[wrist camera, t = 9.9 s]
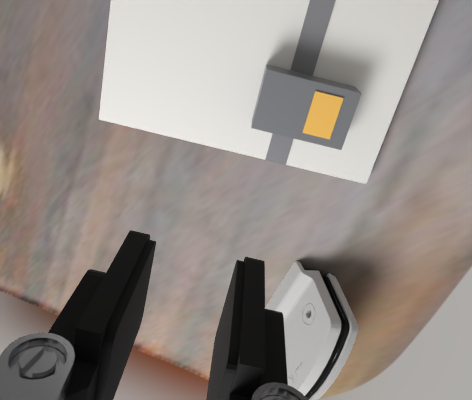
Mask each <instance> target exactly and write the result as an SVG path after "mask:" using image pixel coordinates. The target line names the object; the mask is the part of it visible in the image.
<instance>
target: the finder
mask: <svg viewBox="0 0 472 400" xmlns="http://www.w3.org/2000/svg"><path fill="white" fill-rule="evenodd" d="M361 94H362V93H361V92H360V91H359V90H358V89H357V88H356V87H354V86H350V85H346V84H342V83H338V82H334V81H330V80H327V79H323V78H319V77H315V76H311V75H307V74H303V73H299V72H295V71H291V70H287V69H283V68H279V67H275V66H271V65H267V64H266V67H265V71H264V74H263V78H262V82H261V86H260V90H259V94H258V98H257V102H256V106H255V110H254V114H253V117H252V125H251V128H253V129H257V130H261V131H265V132H269V133H273V134H277V135H281V136H286V137H290V138H294V139H298V140H302V141H306V142H310V143H314V144H318V145H322V146H326V147H330V148H334V149H339V150H342V147H343V144H344V142H345V139H346V136H347V133H348V130H349V128H350V125H351V122H352V119H353V116H354V114H355V111H356V108H357V105H358V102H359V100H360V97H361Z"/></svg>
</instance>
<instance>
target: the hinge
mask: <svg viewBox="0 0 472 400" xmlns="http://www.w3.org/2000/svg"><path fill="white" fill-rule="evenodd" d="M265 309H269V310H274V311H278V312H282V313H283V318H284V332H285V348H286V364H287V379H288V385H289V386H292V387H294V388H295V389H297V390H298V391H300V392H301V393H302V394H303V395H304V396H305V397H306V398H307V399H308V400H318V399H319V398H320V397H321V396H322V395H323V394H324V393H325V392H326V391H327V390H328V388H329V387H330V386H331V385H332V383H333V382H334V381H335V379H336V378H337V376H338V374H339V373H340V371H341V370H342V368H343V366H344V364H345V362H346V360H347V358H348V356H349V354H350V352H351V350H352V347H353V345H354V342H355V340H356V337H357V334H358V323H357V321H356V319H355V317H354V315H353V313H352V311H351V308H350V306H349V304H348V302H347V300H346V298H345V296H344V294H343V291H342V289H341V287H340V285H339V283H338V281H337V279H336V277H335V276H333V275H332V274H330V273H328V274H327V275H326V276H325V277H324V278H323V277H322V275H321V274H320V272H319V271H313V270H304V269H303V267H302V265H301V263H300V262H298V261H295V262H294V263H293V265H292V267H291V268H290V270H289V271H288V273H287V274H286V276H285V277H284V279H283V281H282V282H281V284H280V285H279V287H278V288H277V290H276V291H275V293H274V295H273V296H272V298H271V299H270V301H269V302H268V304H267V305H266V307H265Z"/></svg>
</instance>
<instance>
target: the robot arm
mask: <svg viewBox="0 0 472 400" xmlns="http://www.w3.org/2000/svg"><path fill="white" fill-rule="evenodd" d="M155 246H156V241H152V240H150V235H149V234H144V233H140V232H135V231H130V232H129V233H128V235H127V237H126V239H125V240H124V242H123V244H122V246H121V247H120V249H119V251H118V253H117V255H116V256H115V258H114V260H113V262H112V264H111V265H110V267H109V269H108V271H107V273H105V272H100V271H96V270H91V269H90V270H88V271H87V272H86V274H85V275H84V277H83V278H82V280H81V281H80V283H79V285H78V286H77V288H76V289H75V291H74V293H73V294H72V296H71V297H70V299H69V300H68V302H67V304H66V305H65V307H64V308H63V310H62V312H61V313H60V315H59V316H58V318H57V319H56V321H55V323H54V324H53V326H52V327H51V329H50V331H49V332H48V333H42V332H41V333H34V334H29V335H26V336H23V337H21V338H18V339H17V340H15V341H14V342H12V343H11V344H9V346H8V347H7V348H6V349H5V350H4V351H3V352H2V354H1V355H0V400H113V398H114V396H115V393H116V390H117V387H118V385H119V382H120V379H121V377H122V374H123V371H124V368H125V366H126V363H127V360H128V358H129V355H130V352H131V349H132V347H133V344H134V341H135V339H136V336H137V333H138V330H139V328H140V325H141V321H142V317H143V312H144V307H145V301H146V296H147V290H148V285H149V279H150V274H151V268H152V263H153V257H154V252H155ZM207 400H308V399H307V398H306V397H305V396H304V395H303V394H302V393H301V392H300V391H298V390H297V389H295V388H294V387H292V386H289V385H288V379H287V364H286V348H285V332H284V318H283V313H282V312H278V311H274V310H269V309H265V266H264V261H261V260H257V259H253V258H248V257H245V259H244V262H243V261H239V260H237V262H236V265H235V268H234V272H233V275H232V279H231V282H230V286H229V290H228V293H227V297H226V300H225V304H224V307H223V311H222V315H221V318H220V322H219V325H218V329H217V333H216V337H215V342H214V349H213V356H212V363H211V370H210V378H209V385H208V392H207Z"/></svg>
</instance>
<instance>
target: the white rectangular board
mask: <svg viewBox="0 0 472 400" xmlns="http://www.w3.org/2000/svg"><path fill="white" fill-rule="evenodd" d="M438 1H439V0H111V5H110V15H109V24H108V34H107V44H106V54H105V64H104V74H103V84H102V93H101V103H100V113H99V120H103V121H107V122H112V123H116V124H120V125H124V126H128V127H132V128H136V129H141V130H145V131H149V132H153V133H157V134H161V135H165V136H169V137H174V138H178V139H182V140H186V141H190V142H194V143H198V144H203V145H207V146H211V147H215V148H219V149H223V150H227V151H231V152H236V153H240V154H244V155H248V156H252V157H256V158H260V159H265V160H267V161H271V162H275V163H280V164H284V165H289V166H294V167H298V168H302V169H306V170H310V171H314V172H318V173H322V174H327V175H331V176H335V177H339V178H343V179H347V180H351V181H356V182H360V183H364V184H366V183H367V181H368V178H369V176H370V173H371V170H372V168H373V165H374V163H375V160H376V158H377V155H378V153H379V150H380V148H381V145H382V143H383V140H384V138H385V135H386V133H387V130H388V128H389V125H390V123H391V120H392V117H393V115H394V112H395V110H396V107H397V105H398V102H399V100H400V97H401V95H402V92H403V90H404V87H405V85H406V82H407V80H408V77H409V75H410V72H411V70H412V67H413V65H414V62H415V59H416V57H417V54H418V52H419V49H420V47H421V44H422V42H423V39H424V37H425V34H426V32H427V29H428V27H429V24H430V22H431V19H432V17H433V14H434V12H435V9H436V7H437V4H438ZM266 64H267V65H271V66H275V67H279V68H283V69H287V70H291V71H295V72H299V73H303V74H307V75H311V76H315V77H319V78H323V79H327V80H330V81H334V82H338V83H342V84H346V85H350V86H354V87H356V88H357V89H358V90H359V91H360V92H361V93H362V94H361V97H360V100H359V102H358V105H357V108H356V111H355V114H354V116H353V119H352V122H351V125H350V128H349V130H348V133H347V136H346V139H345V142H344V144H343V147H342V150H339V149H334V148H330V147H326V146H322V145H318V144H314V143H310V142H306V141H302V140H298V139H294V138H290V137H286V136H281V135H277V134H273V133H269V132H265V131H261V130H257V129H253V128H251V125H252V117H253V114H254V110H255V106H256V102H257V98H258V94H259V90H260V86H261V82H262V78H263V74H264V71H265V67H266Z"/></svg>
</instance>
